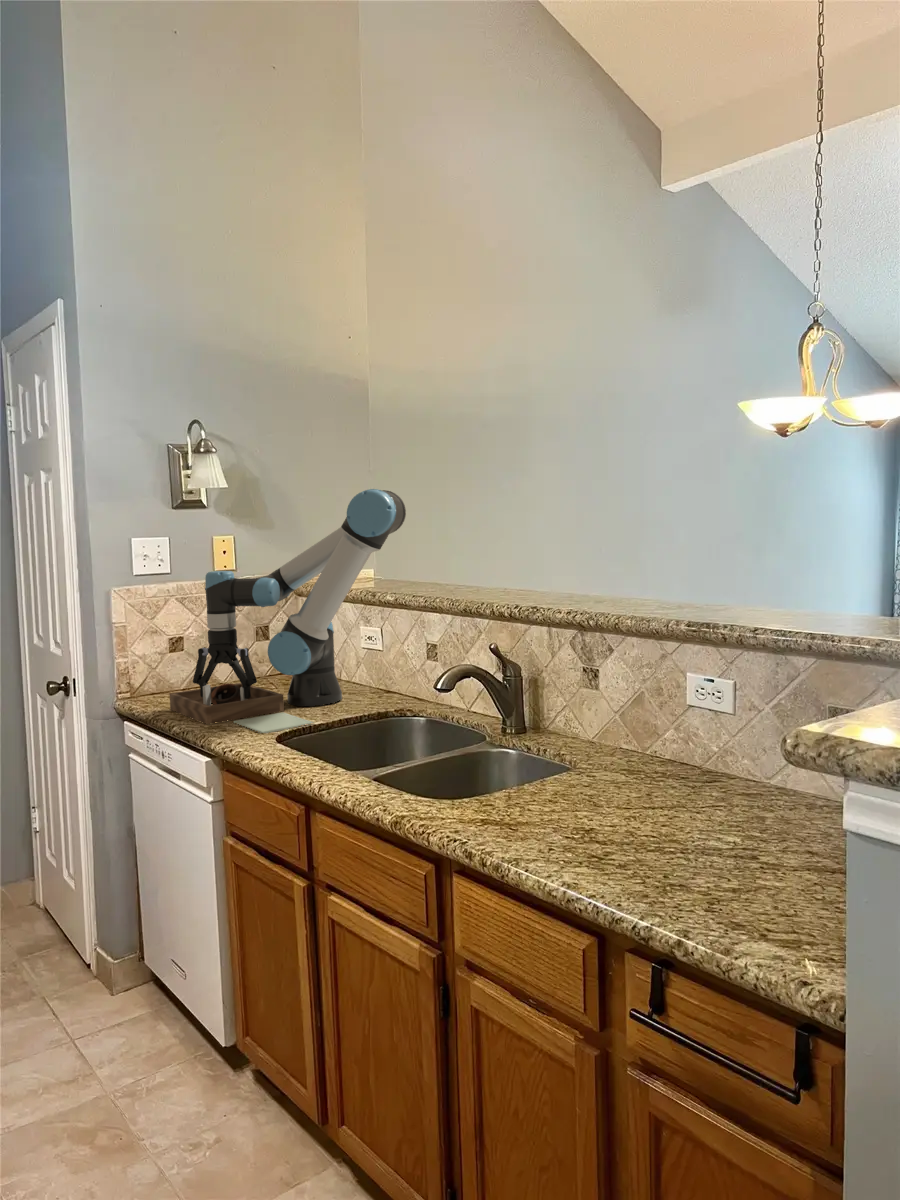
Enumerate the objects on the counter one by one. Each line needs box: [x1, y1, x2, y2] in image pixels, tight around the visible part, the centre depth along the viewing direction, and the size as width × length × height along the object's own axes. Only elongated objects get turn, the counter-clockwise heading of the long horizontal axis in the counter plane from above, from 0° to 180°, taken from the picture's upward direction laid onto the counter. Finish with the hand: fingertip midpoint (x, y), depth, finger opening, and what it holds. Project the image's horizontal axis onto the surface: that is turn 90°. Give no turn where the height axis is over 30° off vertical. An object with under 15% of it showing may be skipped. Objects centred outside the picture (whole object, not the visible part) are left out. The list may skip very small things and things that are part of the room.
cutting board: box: [233, 711, 315, 734], centre depth 226 cm, size 16×14×1 cm
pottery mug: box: [211, 683, 241, 705], centre depth 243 cm, size 12×10×8 cm
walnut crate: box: [169, 682, 285, 725], centre depth 242 cm, size 24×22×4 cm
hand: (226, 709), depth 243 cm, fingers open, 10 cm apart
